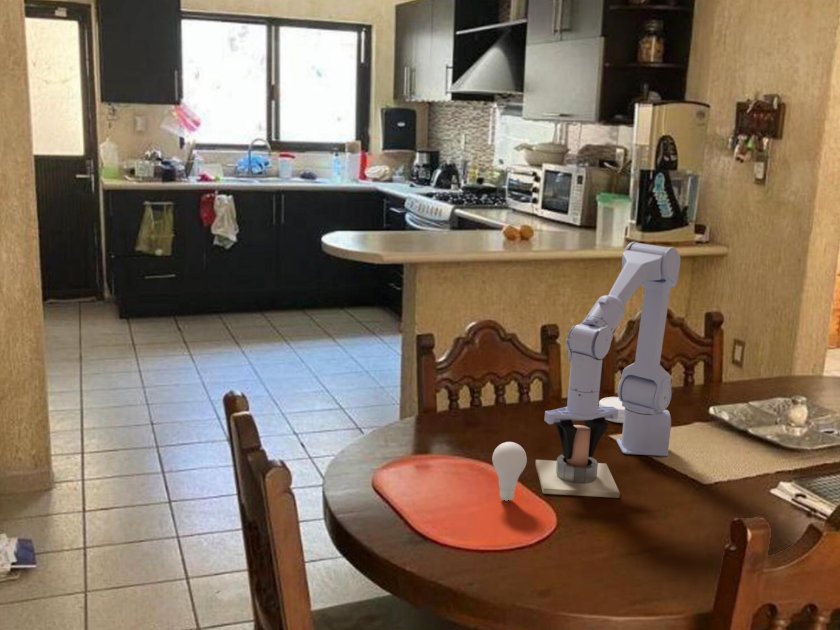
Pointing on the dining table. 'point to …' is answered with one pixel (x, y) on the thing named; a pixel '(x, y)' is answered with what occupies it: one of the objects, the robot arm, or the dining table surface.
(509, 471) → the lightbulb
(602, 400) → the coaster
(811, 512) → the dining table surface
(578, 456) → the peg
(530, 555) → the dining table surface
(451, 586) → the dining table surface
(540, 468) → the socket board
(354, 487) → the dining table surface
